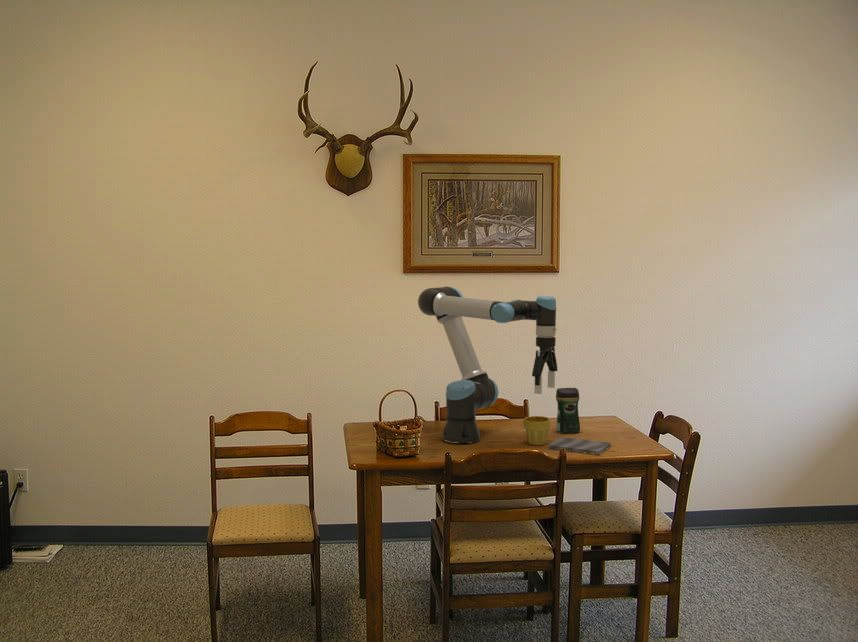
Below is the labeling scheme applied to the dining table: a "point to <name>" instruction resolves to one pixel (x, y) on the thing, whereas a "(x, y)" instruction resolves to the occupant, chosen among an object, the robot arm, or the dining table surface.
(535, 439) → the plant pot
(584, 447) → the trivet board
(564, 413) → the coffee jar
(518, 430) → the dining table surface
